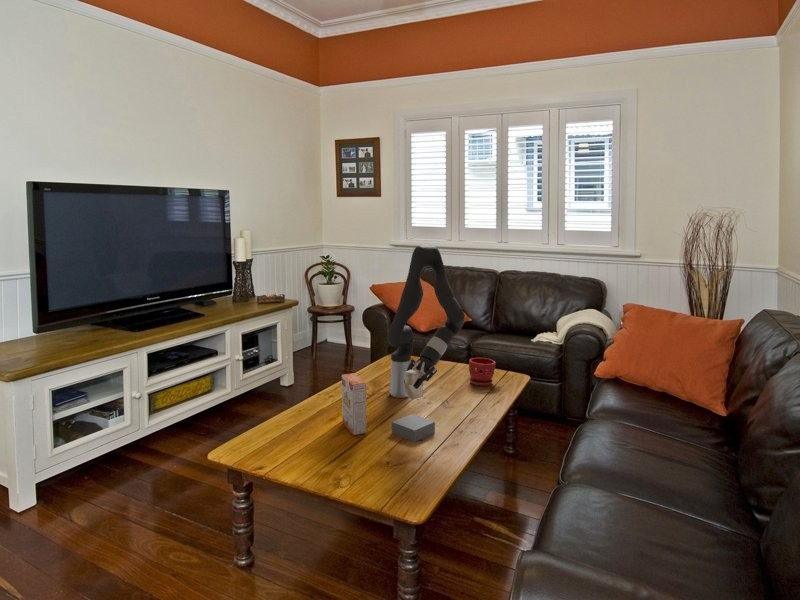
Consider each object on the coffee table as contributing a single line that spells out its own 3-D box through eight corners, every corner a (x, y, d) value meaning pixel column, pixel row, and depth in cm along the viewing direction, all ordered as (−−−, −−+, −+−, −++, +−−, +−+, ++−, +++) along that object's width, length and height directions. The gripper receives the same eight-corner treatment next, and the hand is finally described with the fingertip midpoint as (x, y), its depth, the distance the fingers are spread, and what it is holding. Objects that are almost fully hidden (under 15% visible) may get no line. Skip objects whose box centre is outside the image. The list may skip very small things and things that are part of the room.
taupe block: (404, 395, 213) (405, 371, 211) (414, 393, 216) (415, 368, 214) (413, 399, 209) (413, 374, 207) (423, 396, 212) (423, 371, 210)
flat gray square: (391, 433, 214) (391, 421, 214) (412, 425, 223) (412, 413, 222) (414, 442, 206) (414, 430, 205) (434, 433, 215) (435, 421, 214)
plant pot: (488, 389, 268) (489, 365, 266) (464, 384, 275) (464, 361, 273) (498, 382, 279) (499, 359, 277) (475, 377, 286) (475, 355, 284)
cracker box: (341, 423, 224) (341, 374, 220) (355, 421, 226) (355, 372, 223) (352, 436, 211) (351, 384, 208) (366, 433, 213) (366, 382, 210)
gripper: (417, 341, 219) (393, 376, 214) (441, 348, 208) (417, 385, 203) (426, 352, 223) (403, 386, 218) (451, 360, 212) (427, 396, 207)
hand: (410, 385), depth 210 cm, fingers closed on taupe block, 5 cm apart
